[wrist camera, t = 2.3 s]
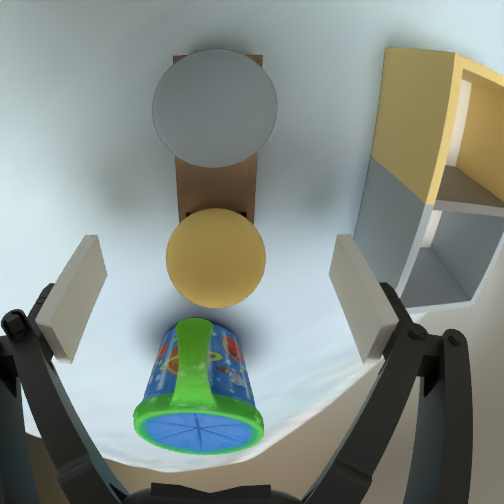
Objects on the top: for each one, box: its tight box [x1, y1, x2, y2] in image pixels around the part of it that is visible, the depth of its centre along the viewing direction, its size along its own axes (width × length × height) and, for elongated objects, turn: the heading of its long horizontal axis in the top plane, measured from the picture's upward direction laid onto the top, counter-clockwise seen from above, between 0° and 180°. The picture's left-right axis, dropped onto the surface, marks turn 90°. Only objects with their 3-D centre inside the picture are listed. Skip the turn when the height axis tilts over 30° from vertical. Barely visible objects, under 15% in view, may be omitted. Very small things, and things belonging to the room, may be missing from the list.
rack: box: [173, 55, 263, 225], centre depth 18 cm, size 12×4×5 cm, turn 178°
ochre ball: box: [166, 208, 266, 308], centre depth 16 cm, size 5×5×5 cm
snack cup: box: [133, 318, 264, 455], centre depth 26 cm, size 16×10×10 cm
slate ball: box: [152, 49, 277, 168], centre depth 12 cm, size 5×5×5 cm
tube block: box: [353, 48, 504, 314], centre depth 18 cm, size 16×8×8 cm, turn 177°
